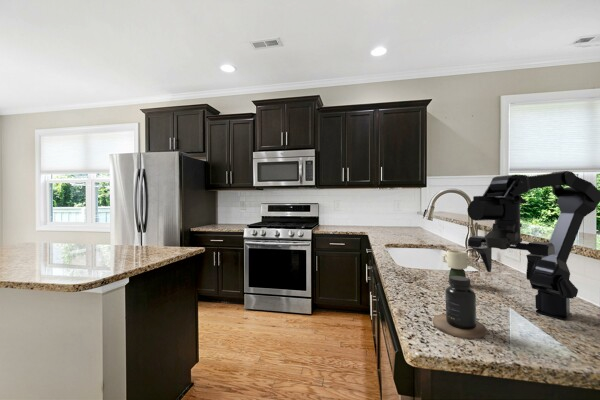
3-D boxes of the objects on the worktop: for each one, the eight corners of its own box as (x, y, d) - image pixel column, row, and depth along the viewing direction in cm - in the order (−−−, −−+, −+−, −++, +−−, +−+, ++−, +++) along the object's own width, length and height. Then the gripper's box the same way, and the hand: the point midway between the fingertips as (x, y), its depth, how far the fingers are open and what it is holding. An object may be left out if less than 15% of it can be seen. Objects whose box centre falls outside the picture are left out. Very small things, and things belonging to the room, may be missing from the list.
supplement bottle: (457, 316, 75) (457, 273, 75) (482, 327, 68) (482, 280, 68) (439, 321, 72) (439, 276, 72) (463, 332, 66) (463, 283, 66)
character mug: (476, 285, 105) (475, 252, 105) (470, 289, 100) (469, 254, 100) (446, 279, 113) (446, 248, 113) (439, 283, 108) (439, 250, 109)
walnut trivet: (495, 330, 69) (495, 326, 69) (471, 344, 62) (471, 339, 62) (447, 314, 79) (447, 310, 79) (423, 324, 72) (423, 320, 72)
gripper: (457, 219, 79) (458, 272, 79) (539, 223, 64) (540, 289, 64) (476, 218, 85) (476, 267, 85) (555, 221, 70) (555, 281, 70)
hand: (507, 275), depth 76 cm, fingers open, 9 cm apart
